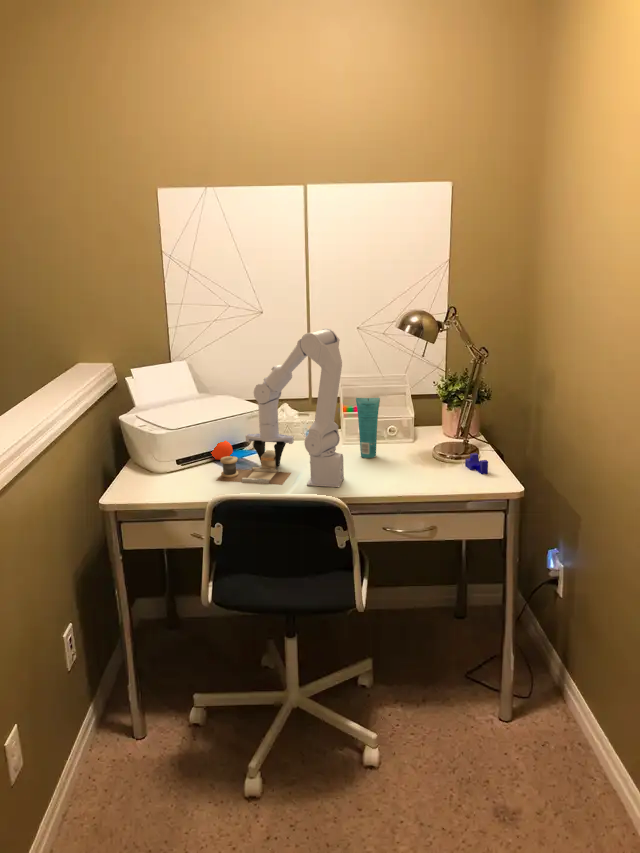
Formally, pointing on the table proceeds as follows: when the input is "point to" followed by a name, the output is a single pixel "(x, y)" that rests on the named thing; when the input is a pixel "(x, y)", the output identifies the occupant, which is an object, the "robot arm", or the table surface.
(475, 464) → the cable holder
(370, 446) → the tube
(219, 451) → the clementine
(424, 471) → the table surface
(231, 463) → the spool
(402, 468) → the table surface
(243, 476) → the brown rectangular board
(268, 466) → the block
